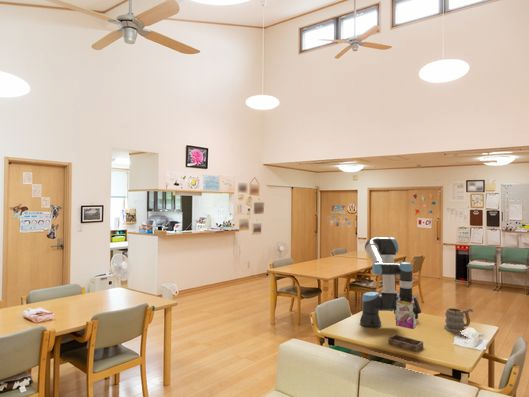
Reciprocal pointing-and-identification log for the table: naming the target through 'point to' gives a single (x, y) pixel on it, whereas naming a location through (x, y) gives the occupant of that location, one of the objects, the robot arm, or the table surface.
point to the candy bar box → (405, 314)
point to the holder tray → (405, 343)
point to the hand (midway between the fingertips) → (405, 321)
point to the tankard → (456, 319)
